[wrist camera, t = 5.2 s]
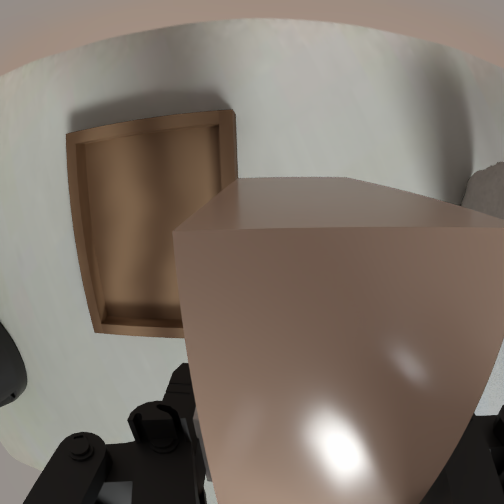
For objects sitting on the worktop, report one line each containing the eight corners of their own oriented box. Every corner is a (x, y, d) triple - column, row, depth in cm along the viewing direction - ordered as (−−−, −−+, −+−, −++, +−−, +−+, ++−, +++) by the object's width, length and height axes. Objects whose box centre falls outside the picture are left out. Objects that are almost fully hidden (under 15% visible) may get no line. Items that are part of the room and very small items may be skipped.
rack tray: (105, 321, 29) (94, 332, 27) (80, 134, 24) (65, 133, 22) (244, 325, 28) (243, 339, 26) (235, 114, 23) (232, 109, 21)
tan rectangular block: (249, 424, 15) (242, 583, 6) (237, 178, 11) (171, 231, 3) (326, 421, 15) (356, 573, 6) (345, 177, 11) (527, 228, 3)
